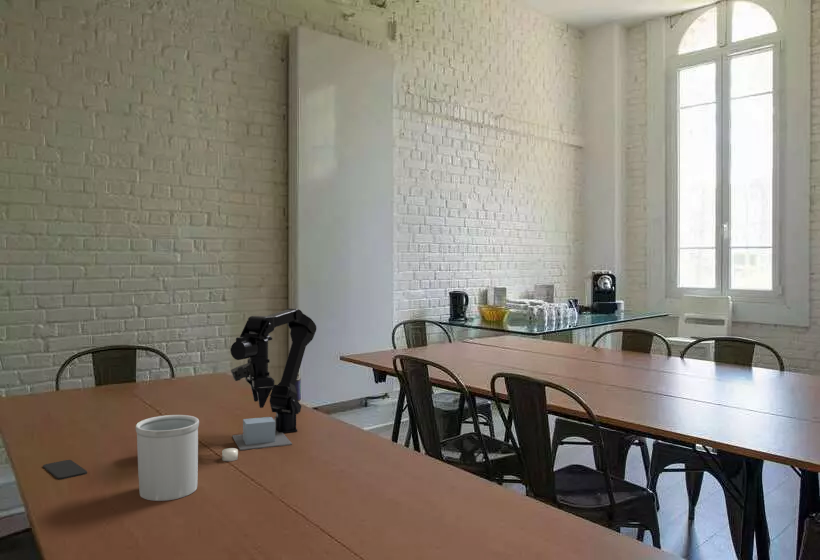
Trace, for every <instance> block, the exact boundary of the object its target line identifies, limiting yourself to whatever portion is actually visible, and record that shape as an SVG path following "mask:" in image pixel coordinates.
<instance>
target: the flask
mask: <svg viewBox="0 0 820 560" xmlns="http://www.w3.org/2000/svg"><path fill="white" fill-rule="evenodd" d="M301 383H302V377H301V376H300V373H298V376H297V380H296V383H295V388H296V392H297V398H296V399H297V401H298V402H300V401H301V400H302V396H301V395H302V392H301V391H302V388H301V386H302V384H301Z"/></svg>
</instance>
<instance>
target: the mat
mask: <svg viewBox="0 0 820 560" xmlns="http://www.w3.org/2000/svg"><path fill="white" fill-rule="evenodd" d="M231 437H232V439H233V440H234V442H235V445H236V446H237V449H238V450H239V451H247V450H249V451H250V450H256V449H266V448H267V449H268V448H275V447H276V448H277V447H284V446H285V447H286V446H292V445H293V443H292V441H291V440H290V439H289V438H288V437H287V436H286V435H285V433H283V432H280V433H279V432H278V431H276V430H275V442H268V443H259V444H249V445H246V443H245V442H244V440H243V433H242V434H241V433H240V434H234V435H231Z"/></svg>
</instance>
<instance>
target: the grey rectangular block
mask: <svg viewBox="0 0 820 560" xmlns="http://www.w3.org/2000/svg"><path fill="white" fill-rule="evenodd" d="M275 431H276V429H275V420H274V418H273V417H272V416H264V417H254V418H253V417H252V418H243V419H242V434H243V440H244V442H245V443H246V445H249V444H259V443H268V442H275Z"/></svg>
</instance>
